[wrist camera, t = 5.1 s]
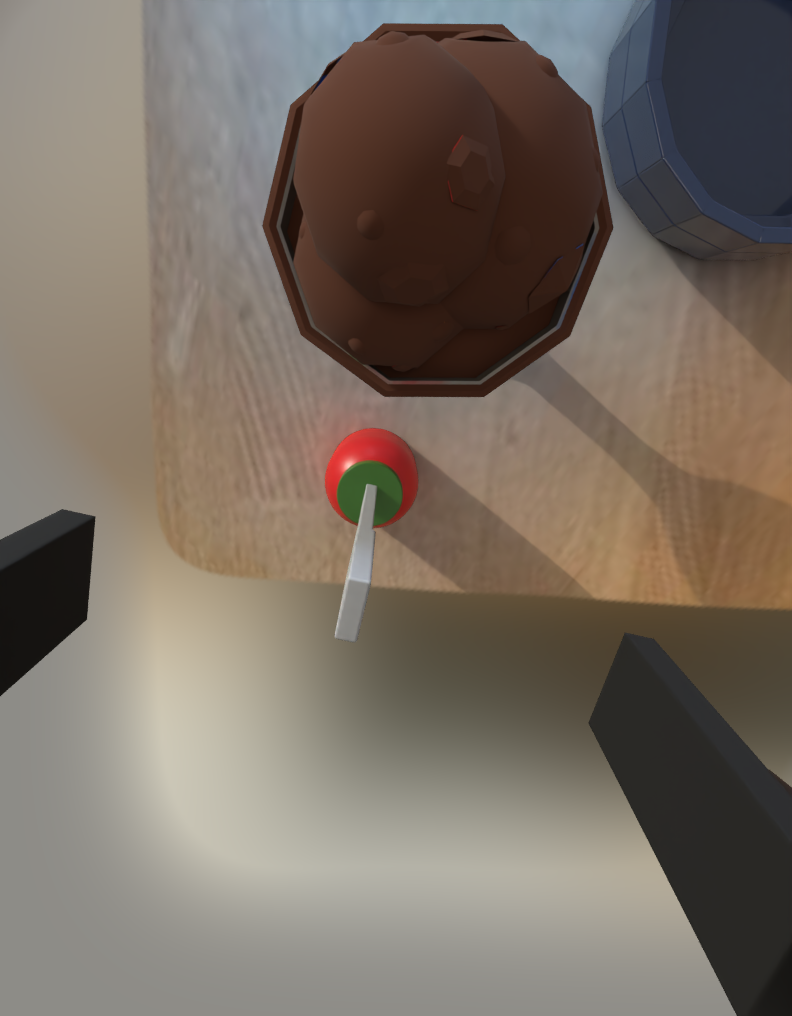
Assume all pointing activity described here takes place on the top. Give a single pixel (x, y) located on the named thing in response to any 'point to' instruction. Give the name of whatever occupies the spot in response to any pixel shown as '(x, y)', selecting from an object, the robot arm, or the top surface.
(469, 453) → the top surface
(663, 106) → the dessert bowl
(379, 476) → the red candy apple
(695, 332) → the top surface
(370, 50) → the ice cream bowl
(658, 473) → the top surface
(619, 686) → the robot arm
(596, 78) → the top surface
